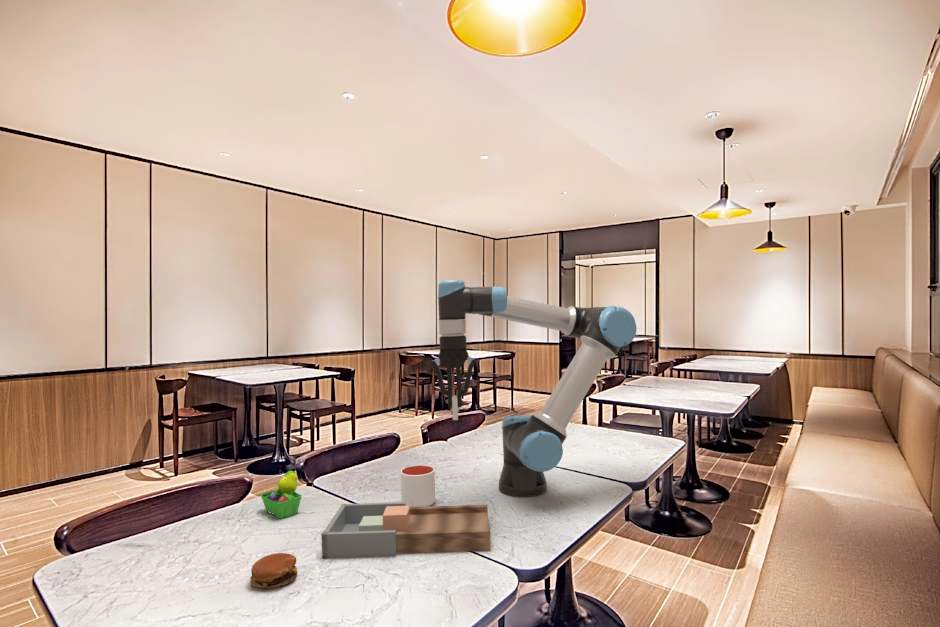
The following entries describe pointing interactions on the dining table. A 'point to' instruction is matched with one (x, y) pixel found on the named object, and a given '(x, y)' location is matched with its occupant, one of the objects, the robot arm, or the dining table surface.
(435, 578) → the dining table surface
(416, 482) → the cup
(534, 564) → the dining table surface
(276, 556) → the burger
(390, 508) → the tile
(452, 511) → the wooden tray
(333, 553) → the box
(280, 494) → the fruit basket
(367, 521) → the tile
